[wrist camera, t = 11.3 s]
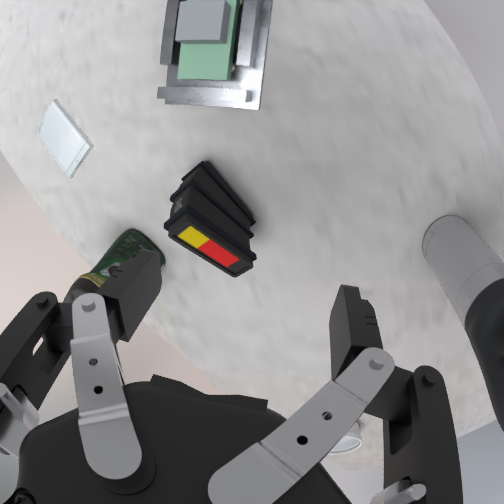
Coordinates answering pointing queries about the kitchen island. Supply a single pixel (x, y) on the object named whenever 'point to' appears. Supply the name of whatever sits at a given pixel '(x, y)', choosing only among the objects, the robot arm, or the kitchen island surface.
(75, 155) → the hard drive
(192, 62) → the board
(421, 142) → the kitchen island surface
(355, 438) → the ramekin
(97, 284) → the coffee jar
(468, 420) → the kitchen island surface
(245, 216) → the magazine
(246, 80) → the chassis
